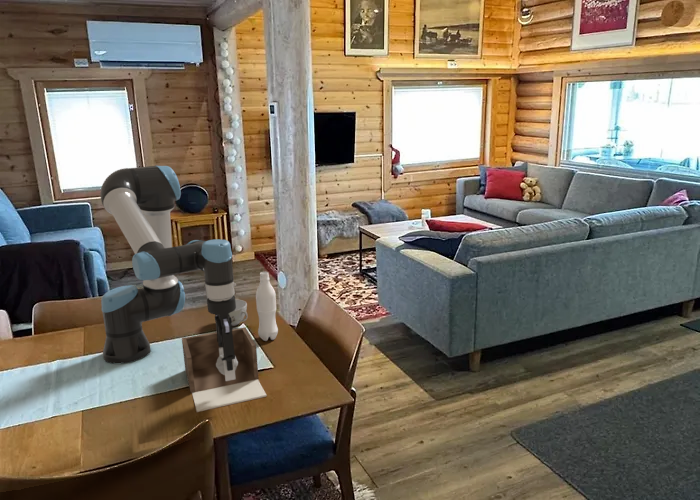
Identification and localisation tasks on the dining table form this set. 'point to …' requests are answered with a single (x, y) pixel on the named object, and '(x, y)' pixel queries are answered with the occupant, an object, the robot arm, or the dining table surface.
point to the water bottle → (266, 308)
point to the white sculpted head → (221, 364)
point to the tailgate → (228, 395)
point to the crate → (204, 357)
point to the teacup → (239, 312)
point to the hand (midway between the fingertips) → (228, 373)
